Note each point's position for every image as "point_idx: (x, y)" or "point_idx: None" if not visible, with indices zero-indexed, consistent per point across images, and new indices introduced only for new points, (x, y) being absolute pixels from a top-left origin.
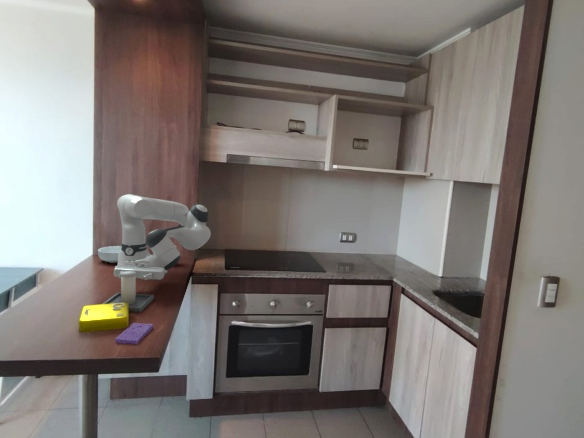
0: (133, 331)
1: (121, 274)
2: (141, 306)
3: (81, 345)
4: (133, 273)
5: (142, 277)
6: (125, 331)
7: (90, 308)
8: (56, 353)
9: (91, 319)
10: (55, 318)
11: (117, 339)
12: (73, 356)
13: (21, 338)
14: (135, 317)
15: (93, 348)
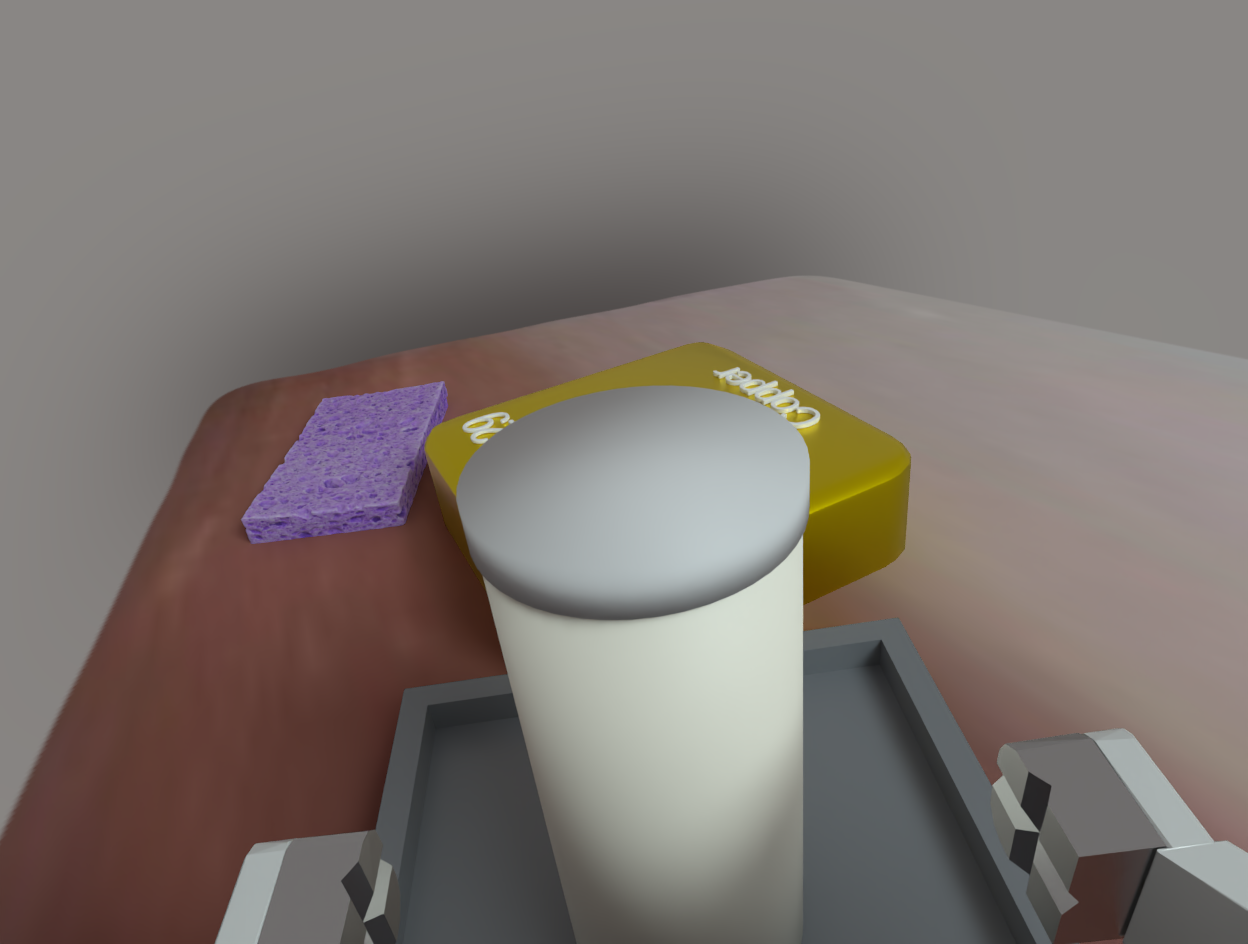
0: (366, 441)
1: (732, 402)
2: (397, 729)
3: (601, 358)
4: (502, 471)
5: (379, 845)
6: (415, 430)
7: (803, 434)
8: (660, 317)
9: (647, 359)
10: (1074, 465)
11: (431, 384)
12: (576, 323)
13: (939, 326)
14: (433, 633)
15: (529, 359)
